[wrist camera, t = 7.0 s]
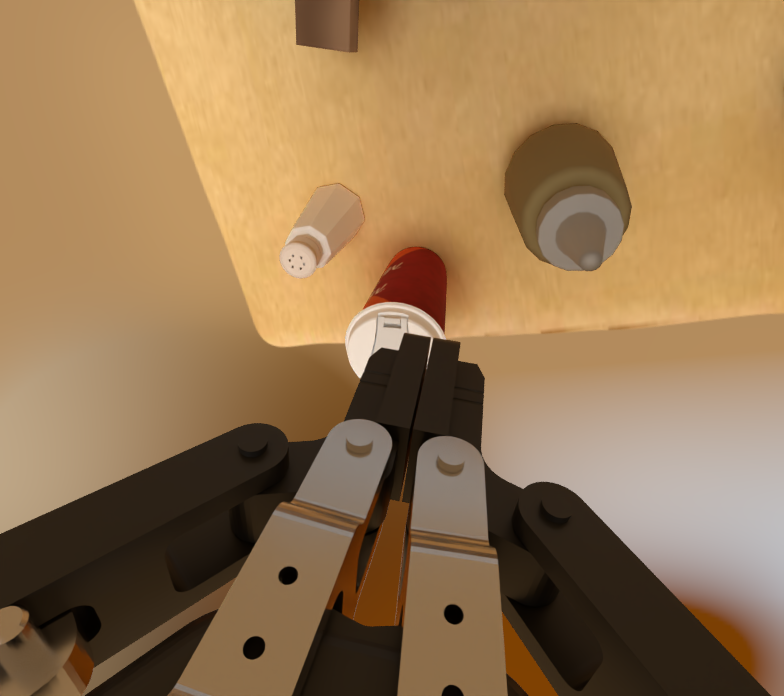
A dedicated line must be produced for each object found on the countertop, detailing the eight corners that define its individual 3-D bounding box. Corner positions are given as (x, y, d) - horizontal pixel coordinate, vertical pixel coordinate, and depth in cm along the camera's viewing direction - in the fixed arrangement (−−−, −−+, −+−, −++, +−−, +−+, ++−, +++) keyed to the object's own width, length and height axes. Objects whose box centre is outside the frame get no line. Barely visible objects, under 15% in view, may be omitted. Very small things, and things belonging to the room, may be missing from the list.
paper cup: (376, 233, 45) (336, 307, 34) (460, 237, 44) (448, 315, 33) (379, 307, 49) (345, 395, 38) (455, 313, 48) (444, 405, 37)
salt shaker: (369, 189, 43) (336, 236, 34) (361, 246, 46) (329, 302, 37) (309, 176, 43) (261, 218, 34) (305, 233, 46) (260, 286, 37)
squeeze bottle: (631, 150, 38) (719, 236, 23) (562, 235, 42) (598, 352, 28) (545, 92, 37) (580, 144, 22) (483, 186, 41) (478, 281, 26)
